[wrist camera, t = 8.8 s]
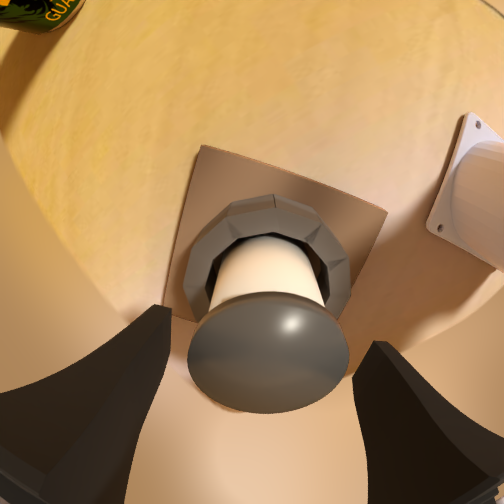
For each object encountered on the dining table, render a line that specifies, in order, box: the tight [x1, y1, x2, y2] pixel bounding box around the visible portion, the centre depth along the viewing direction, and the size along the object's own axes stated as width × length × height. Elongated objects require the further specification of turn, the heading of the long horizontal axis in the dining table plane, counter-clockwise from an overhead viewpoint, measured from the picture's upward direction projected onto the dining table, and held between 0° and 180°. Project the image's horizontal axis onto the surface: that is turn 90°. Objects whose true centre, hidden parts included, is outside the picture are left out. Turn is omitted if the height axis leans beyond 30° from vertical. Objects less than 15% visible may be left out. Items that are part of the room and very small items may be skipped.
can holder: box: [163, 145, 388, 323], centre depth 14 cm, size 10×10×3 cm
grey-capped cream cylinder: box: [187, 232, 349, 414], centre depth 12 cm, size 5×5×8 cm
